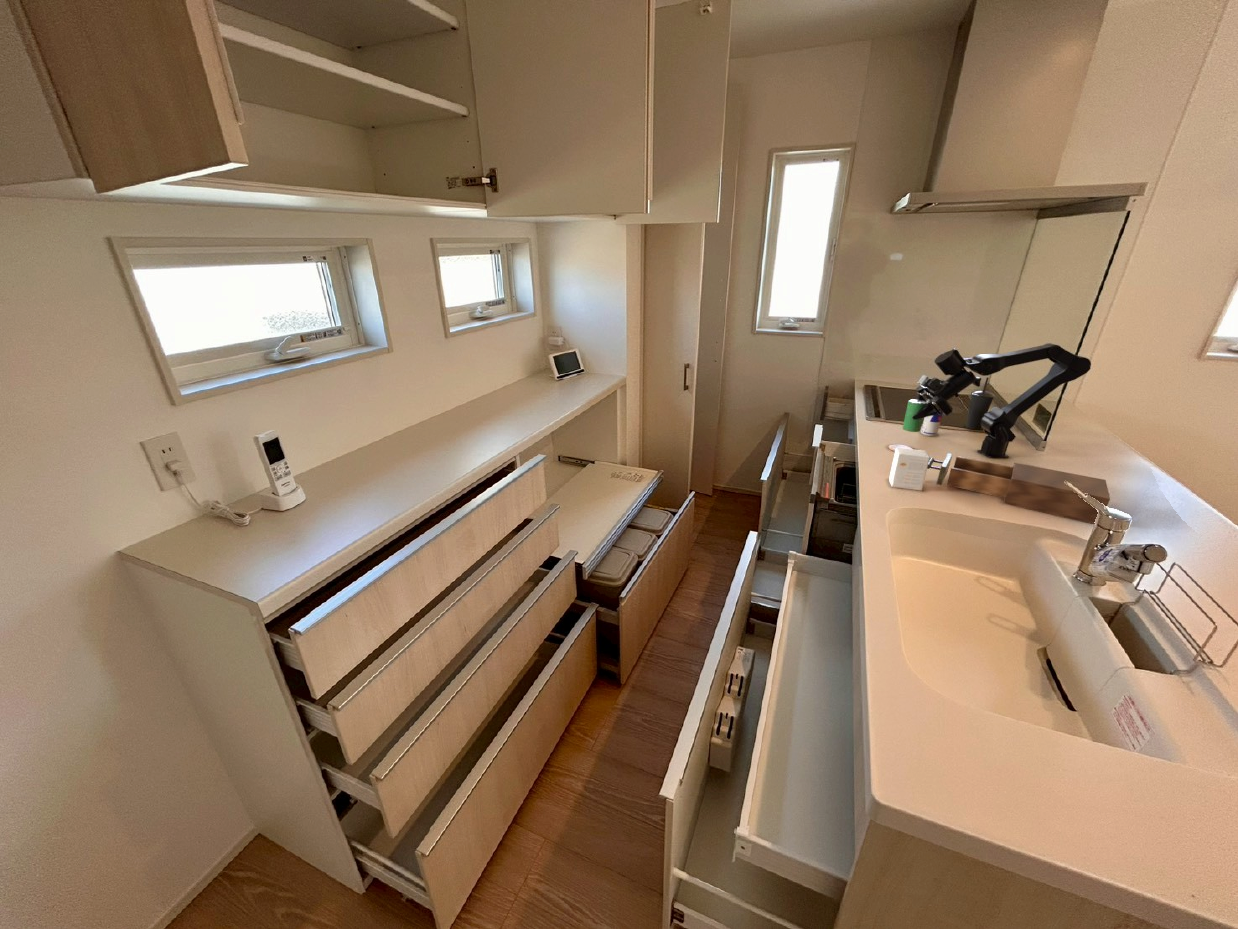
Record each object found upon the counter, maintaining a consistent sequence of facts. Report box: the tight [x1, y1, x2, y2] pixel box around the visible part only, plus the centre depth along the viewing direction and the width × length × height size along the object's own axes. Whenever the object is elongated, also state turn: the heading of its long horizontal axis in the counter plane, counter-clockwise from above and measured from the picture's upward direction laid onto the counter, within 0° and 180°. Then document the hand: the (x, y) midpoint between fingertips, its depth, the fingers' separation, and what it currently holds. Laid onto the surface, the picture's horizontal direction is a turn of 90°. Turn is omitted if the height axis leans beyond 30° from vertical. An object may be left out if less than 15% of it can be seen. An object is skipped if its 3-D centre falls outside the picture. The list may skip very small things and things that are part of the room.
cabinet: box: [1003, 462, 1111, 525], centre depth 133 cm, size 19×14×7 cm
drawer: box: [927, 452, 1013, 499], centre depth 144 cm, size 23×13×6 cm, turn 51°
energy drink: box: [920, 411, 944, 437], centre depth 186 cm, size 5×5×12 cm
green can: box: [902, 398, 926, 433], centre depth 168 cm, size 5×5×10 cm
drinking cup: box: [965, 376, 996, 431], centre depth 191 cm, size 8×8×20 cm
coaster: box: [888, 443, 913, 452], centre depth 173 cm, size 8×8×1 cm
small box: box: [888, 448, 931, 491], centre depth 144 cm, size 8×6×10 cm
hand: (909, 416), depth 169 cm, fingers closed on green can, 5 cm apart
